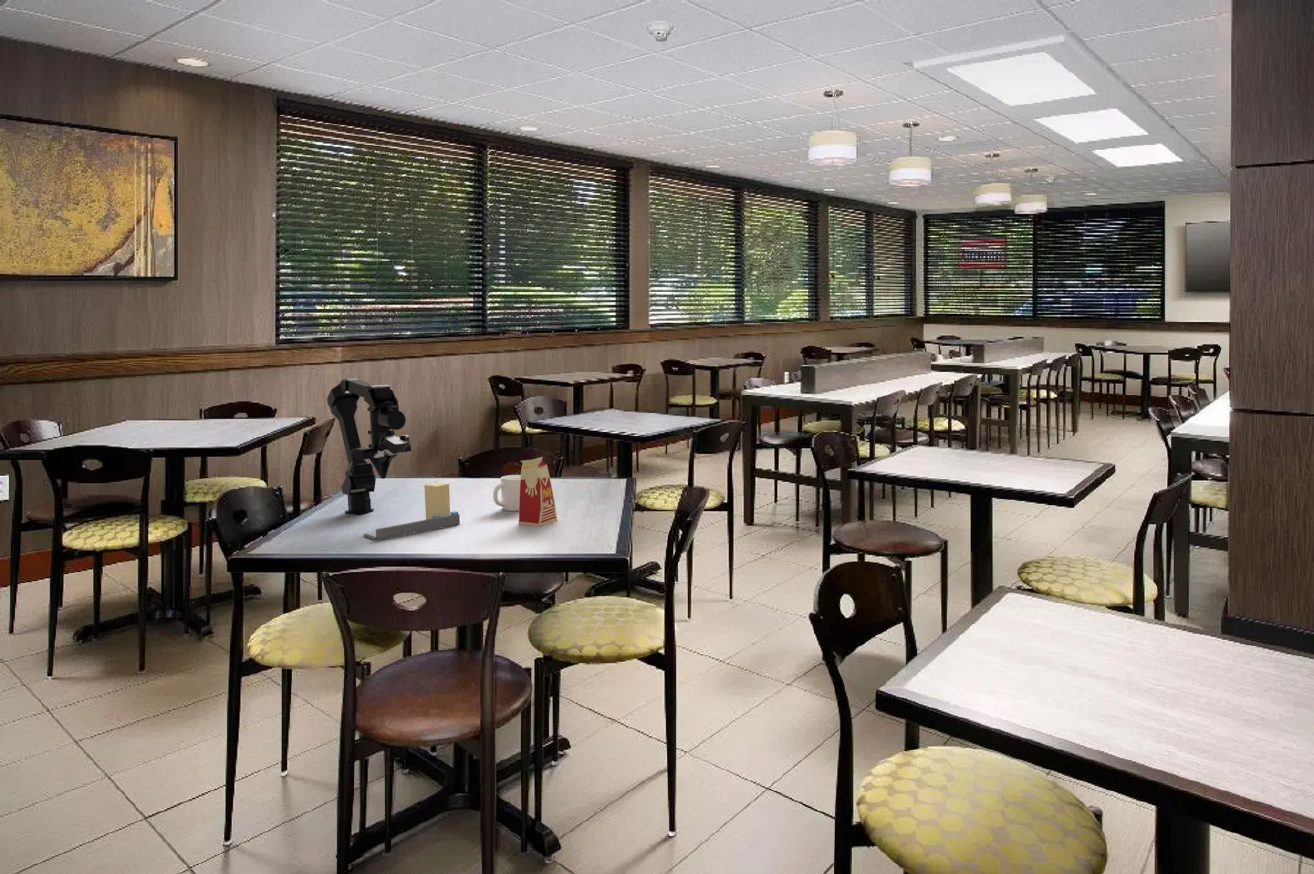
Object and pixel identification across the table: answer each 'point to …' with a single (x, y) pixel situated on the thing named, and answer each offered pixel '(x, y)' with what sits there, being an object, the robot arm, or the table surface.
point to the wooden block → (437, 499)
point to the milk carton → (536, 494)
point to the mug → (508, 492)
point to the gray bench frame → (416, 526)
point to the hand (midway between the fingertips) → (383, 478)
